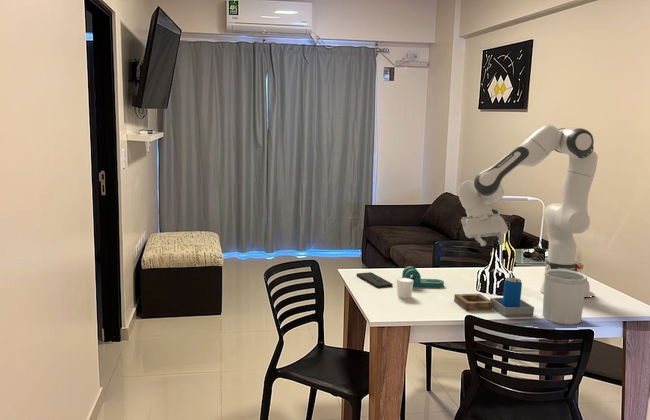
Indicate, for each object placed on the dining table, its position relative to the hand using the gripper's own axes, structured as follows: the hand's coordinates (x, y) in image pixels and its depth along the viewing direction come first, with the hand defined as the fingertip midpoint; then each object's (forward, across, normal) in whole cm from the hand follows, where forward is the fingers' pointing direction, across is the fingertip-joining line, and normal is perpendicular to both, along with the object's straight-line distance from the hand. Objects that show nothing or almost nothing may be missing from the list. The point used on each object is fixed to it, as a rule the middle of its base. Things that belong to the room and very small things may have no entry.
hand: (493, 244), depth 233 cm
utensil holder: (+36, +12, -3) cm, 38 cm away
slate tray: (+26, -1, +6) cm, 27 cm away
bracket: (-1, -14, +36) cm, 38 cm away
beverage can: (+26, -1, +6) cm, 27 cm away
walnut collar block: (+19, -11, +14) cm, 26 cm away
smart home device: (-10, -32, +45) cm, 56 cm away
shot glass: (+6, -31, +28) cm, 42 cm away
